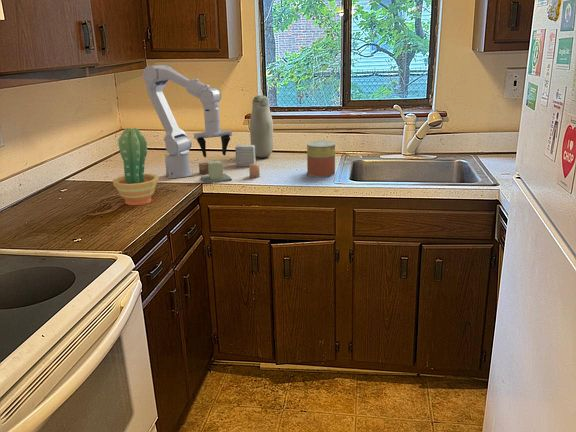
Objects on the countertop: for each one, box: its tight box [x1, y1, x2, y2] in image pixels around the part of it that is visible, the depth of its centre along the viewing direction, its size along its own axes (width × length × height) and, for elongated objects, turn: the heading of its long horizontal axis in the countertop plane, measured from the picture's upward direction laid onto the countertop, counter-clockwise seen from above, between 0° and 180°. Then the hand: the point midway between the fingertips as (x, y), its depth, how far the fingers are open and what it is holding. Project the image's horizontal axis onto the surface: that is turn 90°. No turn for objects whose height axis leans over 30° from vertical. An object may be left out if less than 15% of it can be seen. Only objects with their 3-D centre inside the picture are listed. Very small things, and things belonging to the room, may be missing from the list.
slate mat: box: [200, 173, 232, 185], centre depth 209 cm, size 10×9×1 cm
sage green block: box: [207, 160, 224, 179], centre depth 207 cm, size 4×4×6 cm
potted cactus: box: [112, 127, 159, 206], centre depth 179 cm, size 15×15×25 cm
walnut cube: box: [198, 161, 209, 176], centre depth 218 cm, size 4×4×4 cm
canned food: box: [306, 140, 336, 178], centre depth 213 cm, size 11×11×12 cm
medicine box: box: [234, 144, 257, 167], centre depth 229 cm, size 8×4×9 cm, turn 84°
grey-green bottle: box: [249, 94, 274, 159], centre depth 240 cm, size 10×10×28 cm
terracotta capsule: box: [248, 163, 261, 179], centre depth 211 cm, size 4×4×5 cm
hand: (214, 155), depth 206 cm, fingers open, 7 cm apart
